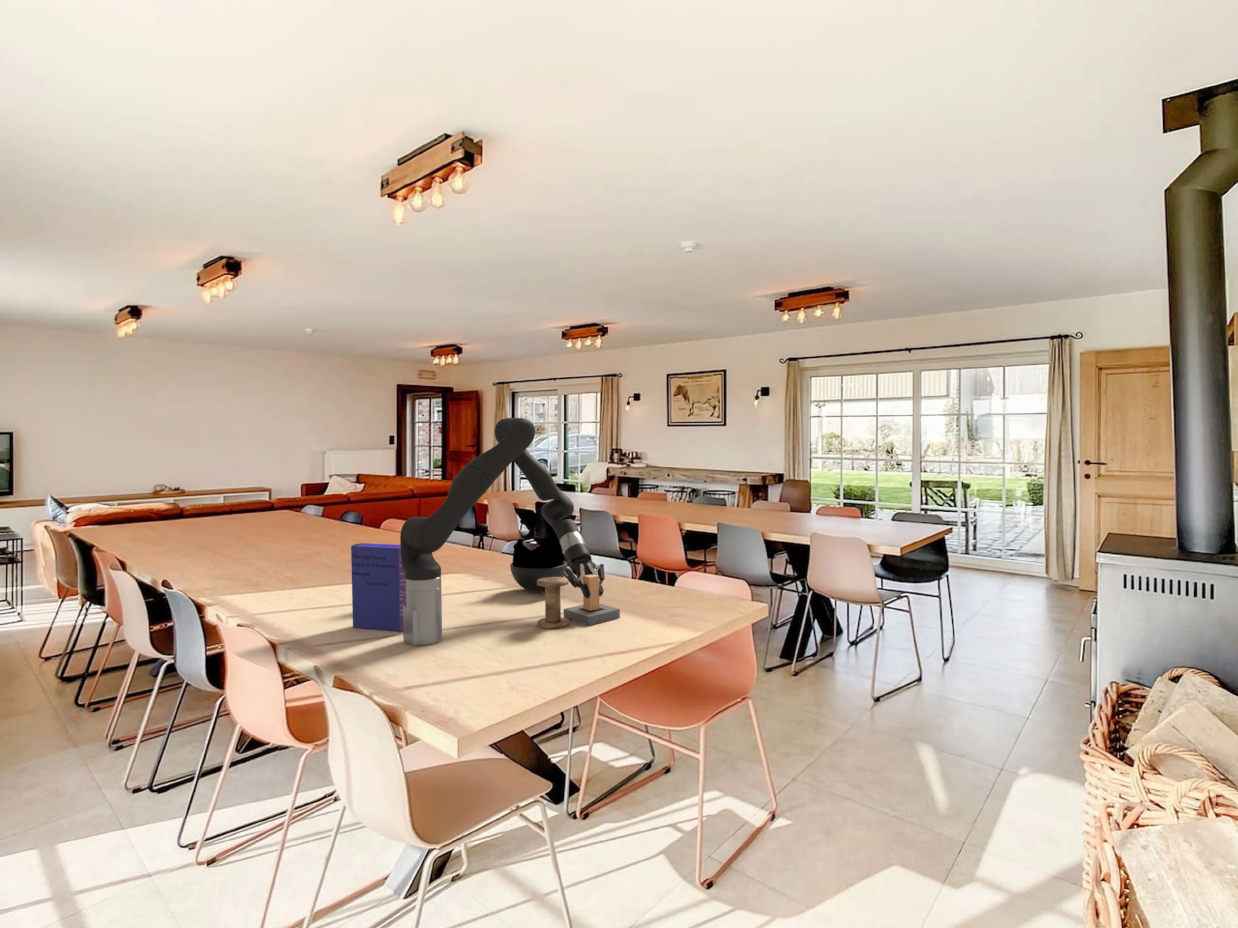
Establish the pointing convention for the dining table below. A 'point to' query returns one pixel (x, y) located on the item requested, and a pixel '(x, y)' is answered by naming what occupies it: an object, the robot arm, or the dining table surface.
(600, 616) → the block with square hole
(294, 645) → the dining table surface
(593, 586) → the orange rectangular block
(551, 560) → the bowl of black rocks
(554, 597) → the bobbin
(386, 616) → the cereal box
